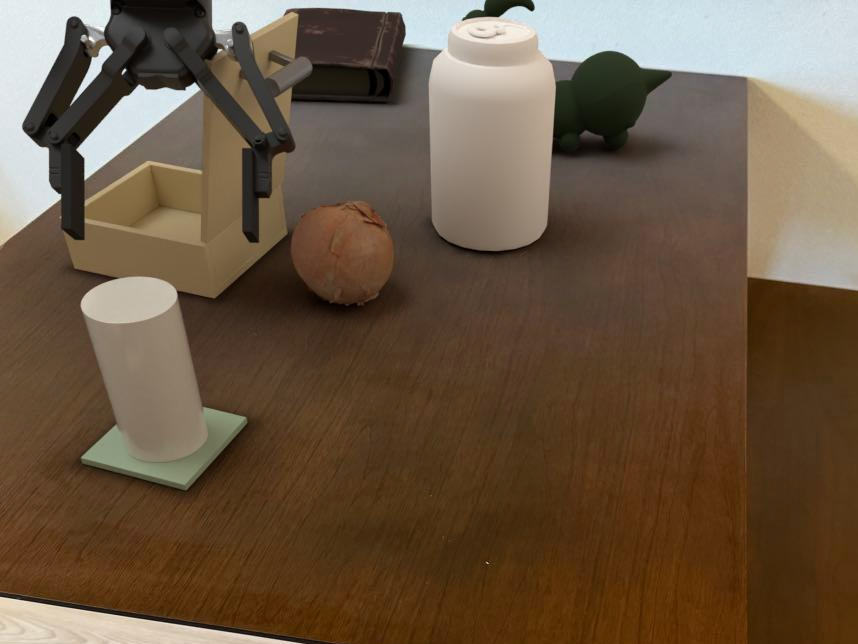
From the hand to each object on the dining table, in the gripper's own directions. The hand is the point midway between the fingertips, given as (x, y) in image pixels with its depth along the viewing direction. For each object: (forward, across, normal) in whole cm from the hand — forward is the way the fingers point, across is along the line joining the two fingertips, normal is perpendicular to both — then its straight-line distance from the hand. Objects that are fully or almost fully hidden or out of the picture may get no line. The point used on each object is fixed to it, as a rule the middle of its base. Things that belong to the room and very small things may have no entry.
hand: (162, 236), depth 75 cm
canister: (+16, 0, 0) cm, 16 cm away
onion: (0, -12, -17) cm, 21 cm away
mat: (+16, 0, 0) cm, 16 cm away
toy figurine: (-26, -37, -44) cm, 63 cm away
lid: (-14, -4, -11) cm, 18 cm away
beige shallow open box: (-6, +5, -23) cm, 24 cm away
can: (-10, -27, -28) cm, 40 cm away
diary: (-44, -6, -63) cm, 77 cm away
